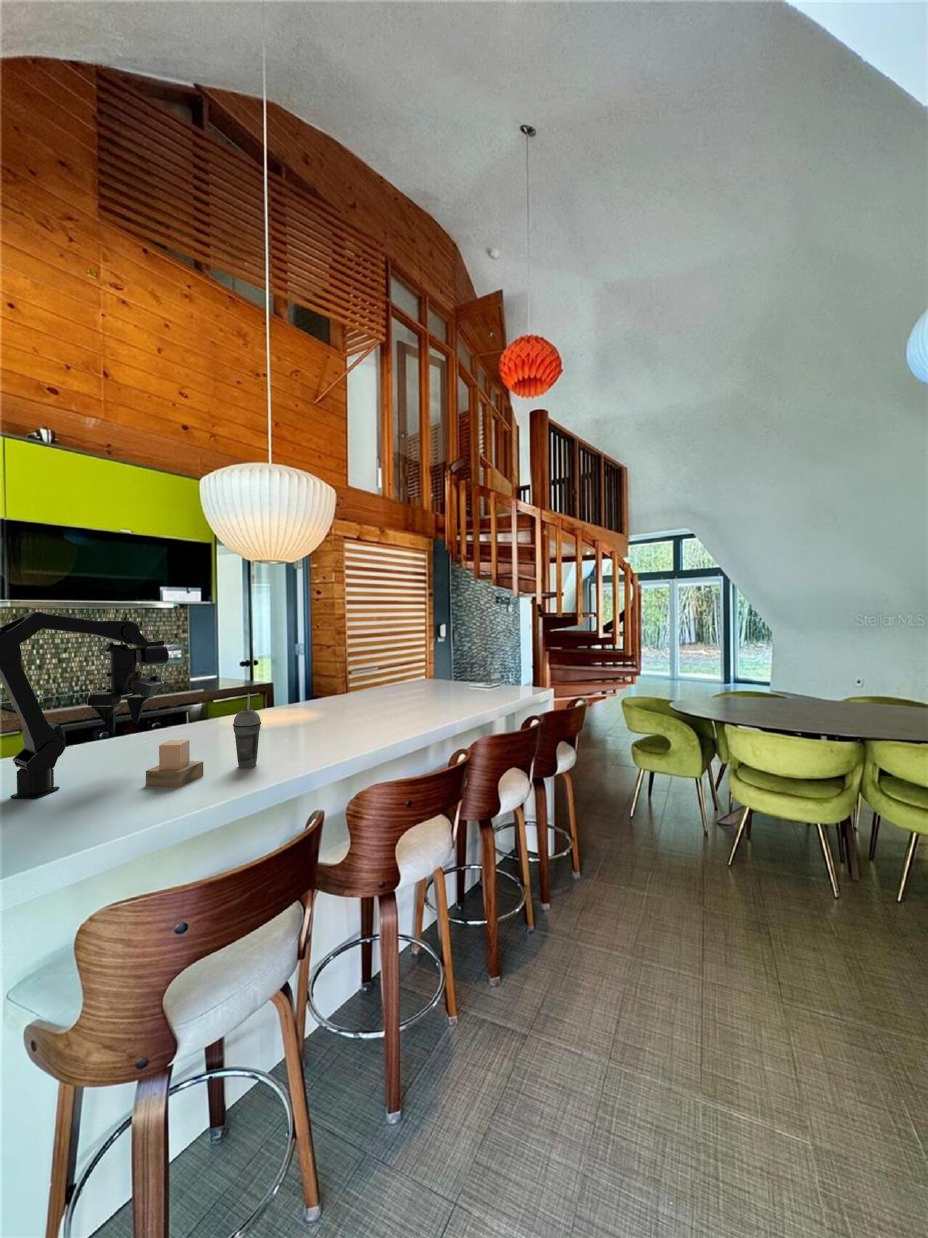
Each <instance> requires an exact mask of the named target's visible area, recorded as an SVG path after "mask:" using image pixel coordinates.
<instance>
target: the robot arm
mask: <svg viewBox="0 0 928 1238" xmlns="http://www.w3.org/2000/svg"><path fill="white" fill-rule="evenodd" d="M40 630H51V631H56V632H57V631H59V632H67V633H75V634H85V635H92V636H95V637H98V638H101V639H105V640H108V642H107V643H106V644H105V645H104V646H103V647H101V648H100V652H106V653H109V657H110V658H109V659H110V662H109V663H110V665H109V666H110V671H109V672H105V673H106V675H105V676H106V677H107V678H110V687H108V688H106V691H100V692H96V693H92V694H90V695H89V696H87V698H86V700H87V701H86V705H87V706H88V707H91V709H94V711H95V712H96V713H97V715H98V716H99V717H100V719H101V720H102V722H103V723H104V725H105V727H106V728H107V729H108V731H109V732H114V731H116V729H115V728H116V724H117V723H116V721H117V711H118V710H119V708H120V707H122V704H121V701H122V699H126V702H127V705H128V706H127V707H128V710H129V713H130V717H131V719H132V722H133V724H138V723H139V721H140V718H141V716H142V713H143V710H144V708H145V706H146V703H147V702H148V701H149V700H150V699H152V698H153V697H154V696H156V695H157V693H158V689H161V688H162V686H163V685H162V678H161V677H162V676H159V675H157V674H156V675H151V677H143V676H142V672H141V670H137V664H139V665H140V666H141V667H149V666H158V665H159V666H161V665H166V664H167V663H168V661H169V657H170V654H169V651H168V648H167V646H166V644H165V640H163V639H162V640H161V639H160V640H154V641H153V640H152V641H151V640H150V641H148V640H147V638H145V636H144V635H143V634H142V633H141V632H140V627H139V626H138V624H137V622H135V621H133V620H118V619H116V620H110V619H109V620H97V619H96V620H95V619H88V618H82V617H73V616H67V615H60V614H59V615H58V614H51V613H46V612H44V611H29V612H27V613H25V614H24V615H22V616H21V617H19V618H17V619H15V620H13V621H11V622H9V623H6V624H4V625H2V626H1V627H0V681H1V682H2V685H3V687H4V689H5V691H6V694H7V695H8V697H9V700H10V701H11V704H12V707H13V708H14V710H15V713H16V714H17V716H18V719H19V721H20V724H21V725H22V740H23V744H24V748H23V749H21V751H20V752H18V753H17V755H15V756H14V757H13V758H12V761H13V763H14V765H15V767H17V768H19V769H18V770H16V793H14V794H11V795H10V799H39V798H41V797H44V796H45V795H48V794H50V793H53V792H55V791H58V790H60V786H55V785H54V784H55V783H54V782H55V777H54V775H55V774H54V772H55V771H54V768H55V767H56V764H57V762H58V759H59V757H61V756H62V755H63V753H64V752H65V750H66V748H67V747H66V742H65V741H68V738H66V737H65V736H64V733H63V730H62V726H61V725H60V724H56V723H55V722H54V723H53V722H48V720H47V719H46V716H45V713H44V712H43V709H42V708H41V706H40V704H39V701H38V699H37V696H36V695H35V692H34V691H33V687H32V686H31V683H30V682H29V679H28V677H27V675H26V672H25V670H24V668H23V665H22V655H23V654H22V648H21V644H22V643H24V642H26V641H27V640H29V639H30V638H32V637H33V636H34V635H35V634H36V633H38V632H39V631H40ZM109 641H110V642H109ZM111 641H112V642H111ZM114 642H117V643H123V644H114ZM130 646H135V647H130Z"/></svg>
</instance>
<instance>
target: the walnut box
mask: <svg viewBox="0 0 928 1238" xmlns="http://www.w3.org/2000/svg"><path fill="white" fill-rule="evenodd" d="M203 776H204V761H201V760H190V763H189V764H188V765H186V766H185V767H183V768H182V769H167V770H159V765H155V766H154V767H151V768H149V769H147V770H145V786H147V787H165V788H181V787H182V786H183V787H184V786H185V785H187V784H189V783H191V782H193V781H195V780H197V779H199V778H201V777H203ZM184 784H185V785H184Z"/></svg>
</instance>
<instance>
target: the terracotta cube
mask: <svg viewBox="0 0 928 1238" xmlns="http://www.w3.org/2000/svg"><path fill="white" fill-rule="evenodd" d="M190 753H191V752H190V739H172V740H171V739H169V740H167V741H165V742H163V743H161V744H159V745H158V759H159V760H158V764H159V770H167V769H182V768H183V767H185V766H186V765H188V764H189V763H190V761H191V760H190V759H191V758H190Z"/></svg>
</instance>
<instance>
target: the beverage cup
mask: <svg viewBox="0 0 928 1238" xmlns="http://www.w3.org/2000/svg"><path fill="white" fill-rule="evenodd" d="M250 699H251V693H247V707H246V709H242V710H240V711H239V712H237V713H236V715H235V717H234V718H233V724H232V728H233V732H234V737H235V747H236V757H237V764H238V768H239V769H251V768H254V766H255V767H256V766H257V761H258V753H259V752H258V751H259V738H260V730H261V725H262V720H261V717H260V715H259V714H258V712H257V711H255V710H254V709H252V708H250V704H251V703H250V701H251V700H250Z"/></svg>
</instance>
